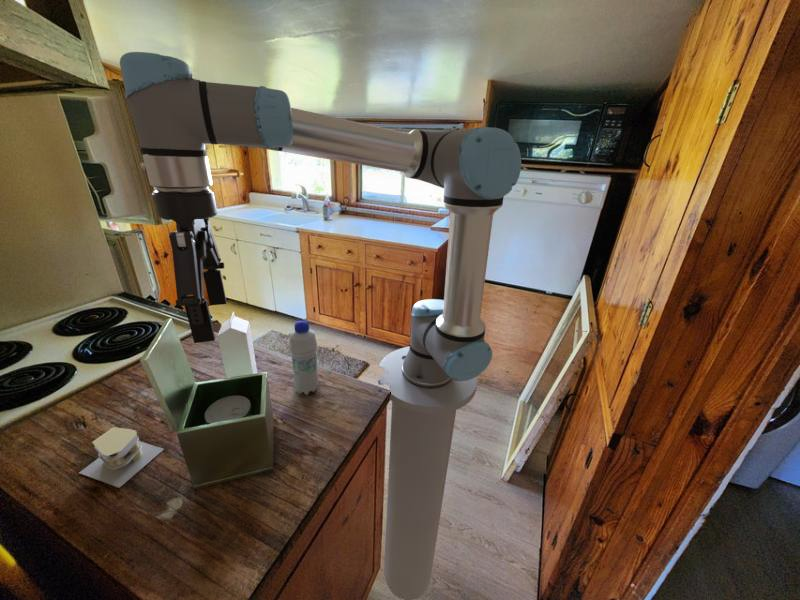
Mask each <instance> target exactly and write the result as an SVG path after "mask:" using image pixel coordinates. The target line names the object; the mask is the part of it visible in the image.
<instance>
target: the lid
mask: <svg viewBox="0 0 800 600" xmlns="http://www.w3.org/2000/svg"><path fill="white" fill-rule="evenodd" d="M139 362H140V364H141V366H142V369H143V370H144V373H145V375H146V377H147V380H148V381H149V383H150V385H151V388H152V390H153V392H154V394H155V396H156V399H157V401H158V403H159V406H160V407H161V410H162V411H163V413H164V415H165V417H166V420H167V422H168V424H169V426H170V428H171V430H172V433H174V432H177V431H178V430H179V428H180V425H181V422H182V419H183V416H184V413H185V410H186V407H187V404H188V401H189V399H190V396H191V393H192V390H193V387H194V384H195V383H196V381H197V380H196V378H195V375H194V372H193V370H192V368H191V365H190V362H189V360H188V356H187V354H186V352H185V349H184V346H183V344H182V341H181V339H180V336H179V333H178V331H177V329H176V326H175V324H174V321H173V319H172V317H170V318H166V319H165V320H164V322H163V323H162V325H161V327H160V328H159V330H158V331H157V333H156V335H155V336H154V338H153V339H152V341H151V342H150V344H149V345H148V347H147V348H146V350H145V352H144V353H143V355H142V356H141V357H140V359H139Z"/></svg>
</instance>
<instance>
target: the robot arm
mask: <svg viewBox="0 0 800 600" xmlns="http://www.w3.org/2000/svg"><path fill="white" fill-rule="evenodd" d="M119 67H120V71H121V72H120V73H121V78H122V82H123V87H124V91H125V94H124V97H125V100H126V101H127V102H126V103H127V106H128V109H129V112H130V115H131V119H132V122H133V127H134V129H135V132H136V136H137V140H138V143H139V147H140V153H141V155H142V156H141V157H142V159H143V162H141V163H140V165H139V166H140V168H141V169H142V170H143V171H146V174H147V179H148V182H149V186H151V187H153V188H156V189H155V190H153V192H152V193H151V196H152V199H153V203H154V207H155V211H156V215H157V217H159V219H162V220H167V221H173V222H175V227H176V231H169V233H168V238H169V241H170V247H171V250H172V251H171V252H172V260H173V261H172V263H173V270H174V281H175V282H174V283H175V290H176V299H175V305H176V306H178V307H184V309H185V313H186V316H187V320H188V324H189V328H190V332H191V335H192V336H191V337H192V339H193V344H199V343H208V342H215V341H216V335H215V330H214V326H213V322H212V316H211V312H210V308H209V306H219V305H227V304H228V303H227V302H228V301H227V297H226V292H225V287H224V281H223V277H222V271H221V270H222V269H225V262H224V261H223V262H221V261H222V258H221V256H220V253H219V250H218V247H217V243H216V240H215V237H214V233H213V231H212V227H211V223H210V218H213V217H216V216H217V214H218V208H217V202H216V196H215V192H214V191H213V190H212V189H210V188H209V187H212V186H213V178H212V174H211V168H210V163H209V157H208V155H207V150H206V144H208V145H224V146H225V145H226V146H239V147H247V148H253V149H263V150H270V151H274V152H275V151H276V152H283V153H287V154H288V153H289V154H293V155H294V154H295V155H300V156H307V157H312V158H319V159H324V160H329V161H335V162H342V163H348V164H354V165H360V166H366V167H370V168H371V167H372V168H378V169H383V170H389V171H396V172H401V173H402V174H403V176H404V177H405V178H408V179H414V180H417V181H421V182H425V183H428V184H431V185H433V186H435V187H439V188H442V189H443V201H442V202H443V205H444V206H445V207H446V208H447V209H448V211H449V225H448V239H447V253H446V254H447V255H446V264H445V265H446V267H445V278H444V279H445V280H444V295H443V299H436V298H430V299H429V298H428V299H422V300H418V301H417V302H416V303H414V304H413V306H412V310H411V315H410V316H411V319H410V334H409V335H410V336H409V337H410V339H409V346H410V349H409V351H408V353H407V355H406V356H403V357H402V359H405V360H404V362H403V364H402V374H403V376H404V378H405V379H406V380H407V381H408V382H410V383H411V384H413V385H415V386H418V387H422V388H428V389H433V388H440V387H443V386H445V385H447V384H448V383H449V382H450V381H451V380H452V379H454V380H456V381H467V380H471V379H473V378H475V377H477V378H478V376H480V375H481V374H482V373H484V371H485V370H486V369H487V368H488V366H489V365H490V363H491V361H492V358H493V350H492V347H490V344H489V343H488V342H486V341H485V335H486V327H487V326H486V323H485V321H484V320H483V319H482V318H481V314H482V308H483V307H482V306H483V298H484V291H485V284H486V283H485V282H486V276H487V275H486V274H487V267H488V258H489V250H490V242H491V235H492V227H493V218H494V214H495V213H496V212H497V211H498V210H499V209H501V208H502V207H503V205H504V197H505V196H506V195H508V194H509V193H511V191H512V190H513V187H514V186H516V185H517V183H518V181H519V178H520V175H521V170H522V155H521V151H520V148H519V145H518V143H517V142H516V141H515V140H514V139H515V138H514V136H512V135H511V134H510V133H509V132H508V131H506V130H504V129H502V128H498V127H489V126H479V127H478V126H477V127H472V128H463V129H451V130H445V131H444V130H443V131H425V130H420V129H417V128H416V129H415V128H414V129H412V130H411V131H409V132H404V131H399V130H395V129H390V128H385V127H381V126H377V125H372V124H368V123H364V122H359V121H355V120H349V119H345V118H340V117H335V116H331V115H327V114H322V113H318V112H312V111H310V110H303V109H300V108H295V107H292V106H291V101H290V97H289V96H288V94H287V93H286V92H285V91H284V90H282V89H275V88H271V87H270V88H269V87H267V86H264V85H259V86H252V85H243V84H232V83H231V84H230V83H219V82H209V81H205V80H204V81H203V80H200V79H196V78H195V77H194V75H193V74H192V70H191V67H190V65H189V64H188V63H187V62H185V61H184V60H182V59H179V58H177V57H175V56H174V57H173V56H170V55H163V54H159V53H155V52H145V51H130V52H125V53H124V54H122V56H121V57H120V59H119ZM204 284H205V288H204ZM205 289H206V293H207V294H206V295H207V298H208V299H205ZM208 303H209V304H208Z"/></svg>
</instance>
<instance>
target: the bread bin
mask: <svg viewBox="0 0 800 600" xmlns="http://www.w3.org/2000/svg"><path fill="white" fill-rule="evenodd" d="M229 396H243V397H246V398H247V399H248V400H249V401H250V403H251V410H252V416H249V417H244V418H238V419H233V420H228V421H223V422H218V423H212V424H206V420H205V417H204V416H205V412H206V410H207V409H208V408H209V407H210V406H211V405H212V404H213V403H214V402H216V401H218V400H220V399H222V398H225V397H229ZM274 420H275V419H274V413H273V406H272V400H271V393H270V386H269V380H268V372H267V371H263V372H257V373H256V374H249V375H243V376H236V377H230V378H226V377H224V378H218V379H217V378H216V379H210V380H205V381H198V382H195V384H194V387H193V390H192V393H191V396H190V399H189V401H188V404H187V407H186V410H185V413H184V416H183V419H182V422H181V425H180V428H179V430H178V431H176V435H177V439H178V442H179V445H180V448H181V452H182V455H183V458H184V461H185V464H186V468H187V471H188V474H189V477H190V481H191V483H192V487H193V489H194V490H197V489H201V488H207V487H210V486H213V485H217V484H222V483H226V482H230V481H234V480H239V479H241V478H247V477H250V476H254V475H257V474H263V473H267V472H272V471H274V443H275V442H274V438H275V437H274V436H275V435H274V433H275V429H274Z"/></svg>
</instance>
